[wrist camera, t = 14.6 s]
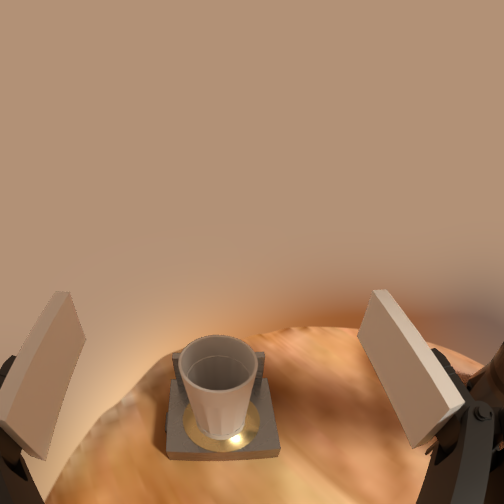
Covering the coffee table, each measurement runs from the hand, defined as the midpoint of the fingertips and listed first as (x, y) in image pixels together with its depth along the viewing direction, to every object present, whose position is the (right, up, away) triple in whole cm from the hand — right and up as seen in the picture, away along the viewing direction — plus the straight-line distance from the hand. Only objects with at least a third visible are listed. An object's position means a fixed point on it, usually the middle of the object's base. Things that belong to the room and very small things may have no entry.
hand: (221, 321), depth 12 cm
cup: (-3, -19, +22) cm, 29 cm away
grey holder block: (-3, -21, +24) cm, 32 cm away
